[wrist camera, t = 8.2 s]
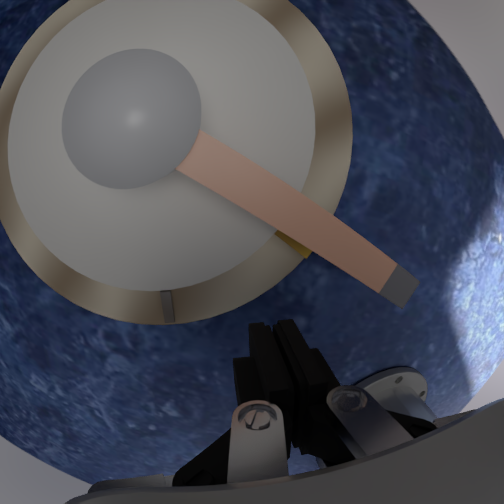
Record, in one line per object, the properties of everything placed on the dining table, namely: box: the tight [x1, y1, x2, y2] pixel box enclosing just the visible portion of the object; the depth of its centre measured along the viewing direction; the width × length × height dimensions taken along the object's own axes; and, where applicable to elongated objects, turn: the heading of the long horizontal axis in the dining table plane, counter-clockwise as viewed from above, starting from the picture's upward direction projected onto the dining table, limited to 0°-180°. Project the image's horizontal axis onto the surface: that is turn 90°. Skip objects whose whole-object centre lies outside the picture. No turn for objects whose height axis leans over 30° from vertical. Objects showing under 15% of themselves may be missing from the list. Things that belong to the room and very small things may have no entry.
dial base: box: [0, 0, 353, 325], centre depth 15 cm, size 22×22×2 cm
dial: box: [8, 0, 420, 309], centre depth 12 cm, size 22×16×6 cm
